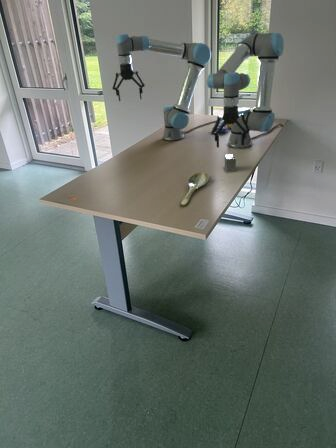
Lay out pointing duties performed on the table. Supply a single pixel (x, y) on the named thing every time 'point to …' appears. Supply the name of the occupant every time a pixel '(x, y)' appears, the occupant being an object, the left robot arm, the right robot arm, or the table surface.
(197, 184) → the spoon
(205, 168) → the table surface
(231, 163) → the brick
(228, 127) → the spray gun
